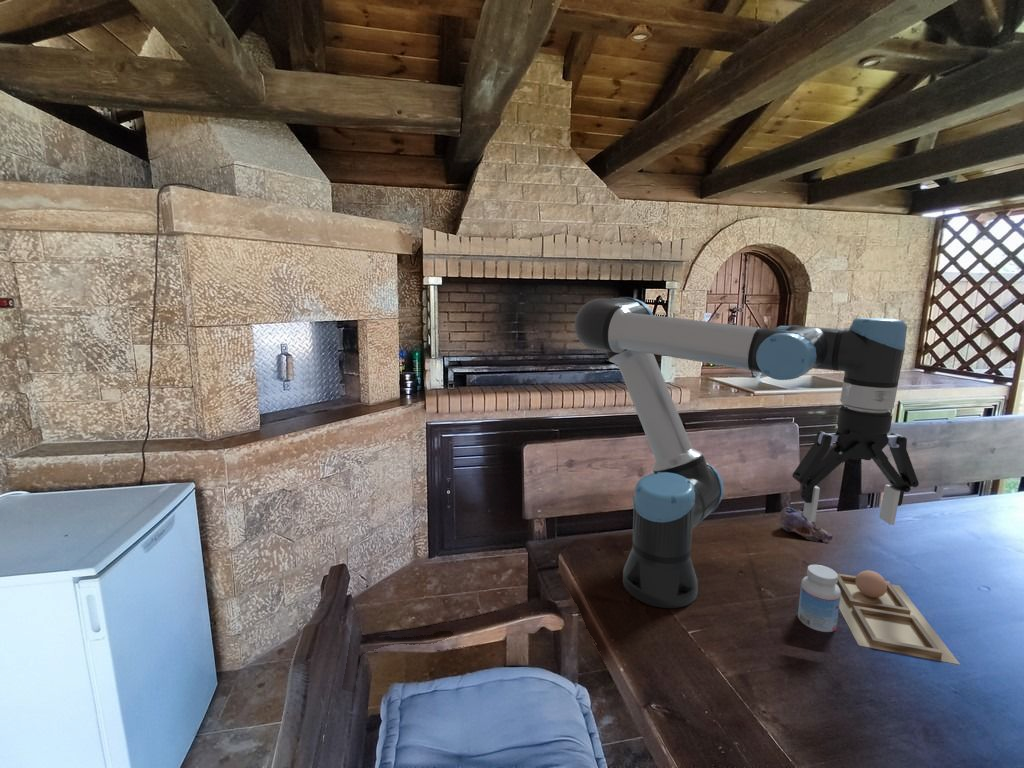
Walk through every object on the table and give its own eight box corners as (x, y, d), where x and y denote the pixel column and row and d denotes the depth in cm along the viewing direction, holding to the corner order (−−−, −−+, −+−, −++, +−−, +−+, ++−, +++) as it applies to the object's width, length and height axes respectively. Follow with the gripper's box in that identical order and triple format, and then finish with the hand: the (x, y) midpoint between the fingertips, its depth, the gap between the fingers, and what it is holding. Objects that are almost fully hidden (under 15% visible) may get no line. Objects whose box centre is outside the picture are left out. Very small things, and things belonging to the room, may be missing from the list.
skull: (837, 542, 116) (840, 519, 114) (819, 551, 112) (822, 527, 111) (789, 522, 126) (791, 501, 125) (771, 529, 122) (773, 508, 121)
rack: (857, 651, 81) (859, 640, 80) (820, 578, 101) (821, 569, 101) (959, 671, 76) (961, 659, 76) (898, 590, 97) (900, 581, 96)
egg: (859, 600, 92) (862, 577, 91) (850, 585, 97) (853, 563, 96) (889, 605, 90) (893, 582, 89) (879, 590, 95) (882, 567, 94)
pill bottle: (842, 639, 83) (850, 583, 81) (804, 635, 84) (811, 579, 82) (826, 617, 89) (833, 563, 87) (791, 613, 90) (797, 560, 88)
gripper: (802, 411, 79) (787, 527, 83) (960, 415, 77) (936, 532, 81) (780, 400, 86) (767, 507, 90) (924, 403, 84) (904, 512, 88)
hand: (847, 519), depth 86 cm, fingers open, 13 cm apart
